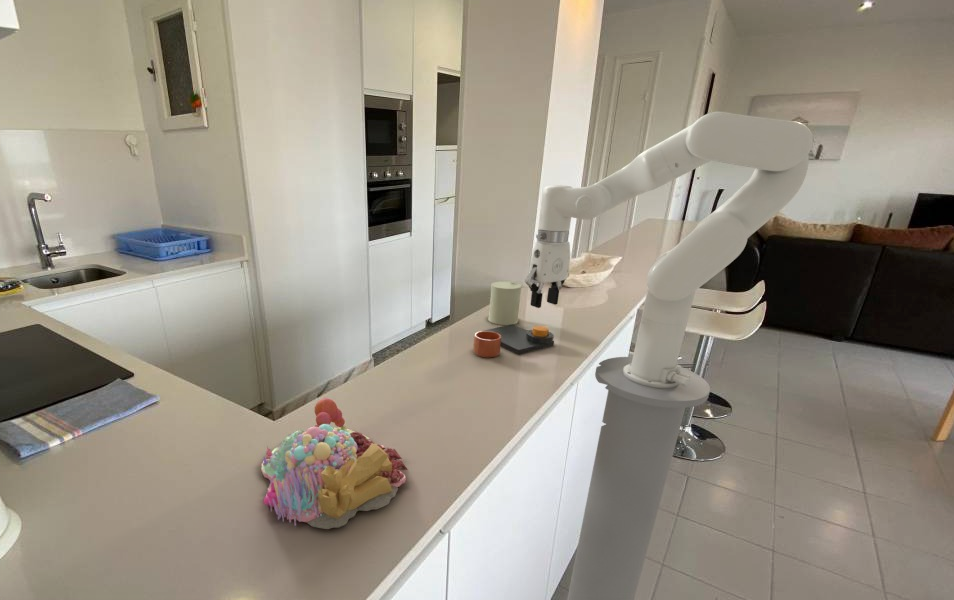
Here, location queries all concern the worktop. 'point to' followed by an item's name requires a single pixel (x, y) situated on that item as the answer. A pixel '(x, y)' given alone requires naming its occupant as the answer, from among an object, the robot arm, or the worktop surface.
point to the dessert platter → (330, 472)
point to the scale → (521, 339)
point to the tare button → (540, 331)
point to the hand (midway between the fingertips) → (543, 304)
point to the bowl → (487, 343)
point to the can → (504, 302)
